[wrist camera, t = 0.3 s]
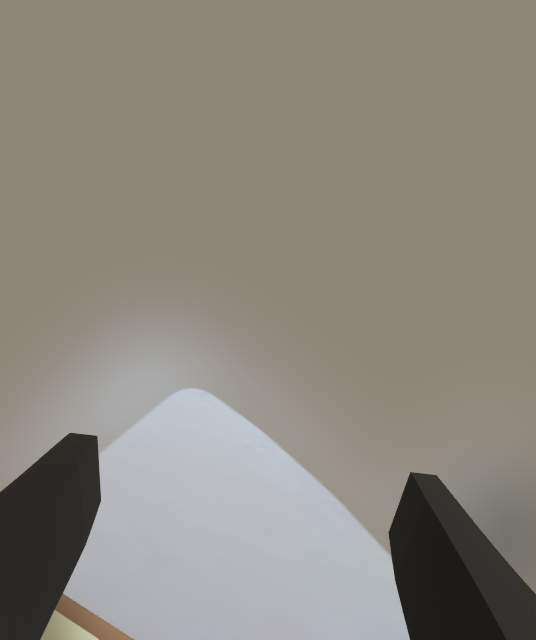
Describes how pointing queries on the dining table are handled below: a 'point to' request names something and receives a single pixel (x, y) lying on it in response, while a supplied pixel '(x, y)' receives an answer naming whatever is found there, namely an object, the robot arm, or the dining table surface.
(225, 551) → the dining table surface
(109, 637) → the game board
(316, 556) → the dining table surface
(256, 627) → the dining table surface
